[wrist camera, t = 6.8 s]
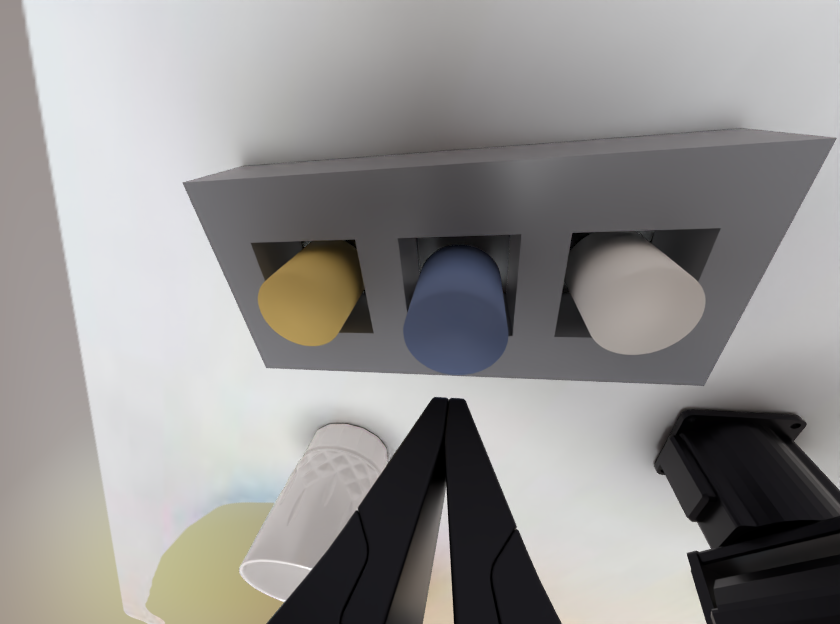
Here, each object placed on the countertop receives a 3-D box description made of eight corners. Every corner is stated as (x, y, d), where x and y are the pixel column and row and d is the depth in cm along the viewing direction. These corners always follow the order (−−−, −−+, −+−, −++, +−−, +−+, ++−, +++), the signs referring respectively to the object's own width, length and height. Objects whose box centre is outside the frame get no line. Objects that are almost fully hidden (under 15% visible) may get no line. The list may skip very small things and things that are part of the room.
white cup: (412, 451, 28) (385, 602, 19) (363, 482, 31) (323, 619, 23) (334, 403, 26) (267, 548, 17) (293, 443, 30) (221, 577, 21)
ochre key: (361, 235, 15) (330, 272, 12) (373, 300, 17) (349, 347, 14) (292, 238, 16) (244, 273, 13) (311, 300, 18) (274, 345, 15)
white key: (662, 225, 13) (724, 267, 10) (638, 300, 15) (683, 356, 12) (570, 229, 14) (598, 268, 11) (557, 300, 16) (579, 353, 13)
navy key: (503, 243, 13) (511, 290, 10) (499, 316, 15) (505, 377, 12) (416, 245, 14) (397, 291, 10) (423, 315, 16) (408, 373, 12)
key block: (742, 128, 13) (836, 137, 9) (662, 333, 18) (703, 385, 15) (242, 166, 16) (182, 182, 13) (298, 327, 22) (266, 368, 18)
